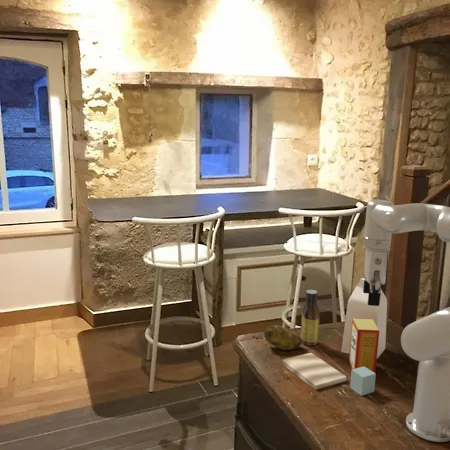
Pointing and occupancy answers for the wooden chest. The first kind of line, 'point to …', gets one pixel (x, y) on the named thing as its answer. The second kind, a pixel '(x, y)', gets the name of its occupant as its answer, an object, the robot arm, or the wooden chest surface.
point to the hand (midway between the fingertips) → (370, 299)
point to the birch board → (313, 371)
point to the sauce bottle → (310, 319)
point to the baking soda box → (363, 344)
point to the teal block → (362, 380)
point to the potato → (282, 337)
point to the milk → (365, 316)
